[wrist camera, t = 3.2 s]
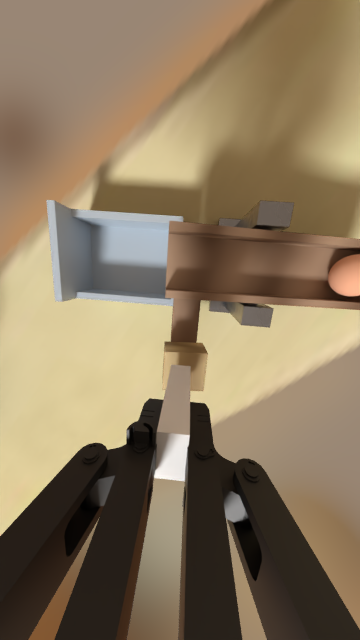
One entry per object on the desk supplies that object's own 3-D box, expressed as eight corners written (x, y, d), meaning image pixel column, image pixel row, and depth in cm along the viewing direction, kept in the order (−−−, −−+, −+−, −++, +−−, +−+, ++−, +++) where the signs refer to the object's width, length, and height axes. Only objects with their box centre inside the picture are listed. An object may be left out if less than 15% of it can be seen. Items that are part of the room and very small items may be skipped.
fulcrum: (208, 310, 26) (218, 332, 17) (218, 219, 23) (237, 186, 14) (311, 318, 26) (378, 345, 16) (333, 227, 23) (429, 198, 14)
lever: (160, 371, 20) (160, 390, 17) (168, 228, 17) (169, 218, 14) (323, 375, 22) (350, 393, 19) (359, 246, 19) (400, 241, 15)
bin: (90, 293, 26) (55, 301, 20) (87, 219, 24) (46, 200, 17) (179, 300, 26) (175, 310, 19) (184, 226, 24) (182, 208, 17)
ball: (316, 293, 17) (366, 299, 15) (326, 252, 16) (381, 251, 14) (333, 293, 19) (380, 299, 16) (343, 256, 18) (394, 256, 16)
